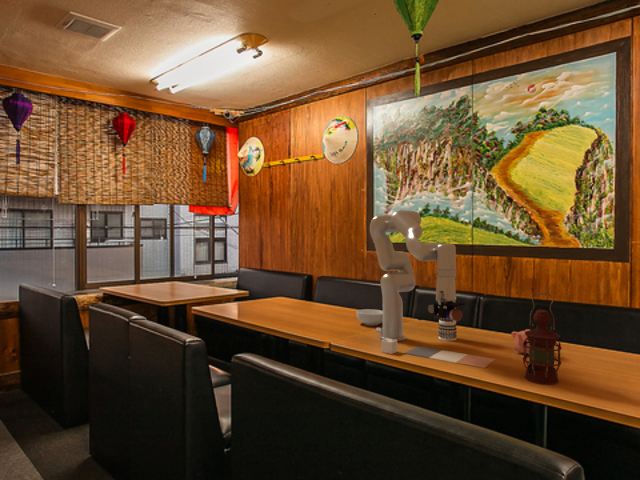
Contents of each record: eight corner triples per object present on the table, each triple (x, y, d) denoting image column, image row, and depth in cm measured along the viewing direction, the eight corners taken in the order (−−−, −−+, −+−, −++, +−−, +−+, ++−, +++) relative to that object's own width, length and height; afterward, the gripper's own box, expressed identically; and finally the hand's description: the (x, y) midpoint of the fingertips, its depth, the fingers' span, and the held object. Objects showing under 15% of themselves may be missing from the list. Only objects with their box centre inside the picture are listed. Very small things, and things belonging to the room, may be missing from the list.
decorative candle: (439, 335, 217) (439, 285, 217) (458, 337, 213) (459, 286, 213) (435, 339, 209) (435, 287, 209) (455, 341, 205) (456, 288, 205)
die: (381, 352, 187) (381, 340, 187) (386, 349, 191) (386, 338, 191) (391, 354, 184) (391, 342, 184) (397, 351, 188) (397, 339, 188)
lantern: (568, 381, 151) (569, 293, 150) (550, 388, 144) (551, 296, 143) (533, 371, 161) (534, 289, 160) (515, 378, 154) (515, 292, 153)
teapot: (509, 348, 193) (510, 325, 193) (539, 350, 191) (539, 326, 191) (517, 357, 179) (517, 332, 179) (548, 359, 177) (548, 334, 177)
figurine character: (427, 320, 185) (455, 322, 172) (425, 302, 185) (453, 302, 172) (439, 319, 188) (467, 320, 175) (437, 301, 189) (465, 301, 176)
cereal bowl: (378, 328, 233) (378, 315, 233) (351, 325, 242) (351, 312, 242) (391, 323, 247) (391, 310, 247) (365, 320, 256) (365, 308, 256)
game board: (404, 353, 184) (404, 352, 184) (418, 346, 196) (418, 346, 196) (484, 368, 165) (484, 367, 165) (495, 359, 176) (495, 359, 176)
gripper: (445, 272, 189) (446, 312, 189) (428, 274, 176) (429, 318, 176) (463, 272, 185) (463, 314, 185) (447, 275, 171) (447, 320, 171)
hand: (446, 316), depth 180 cm, fingers closed on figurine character, 7 cm apart
